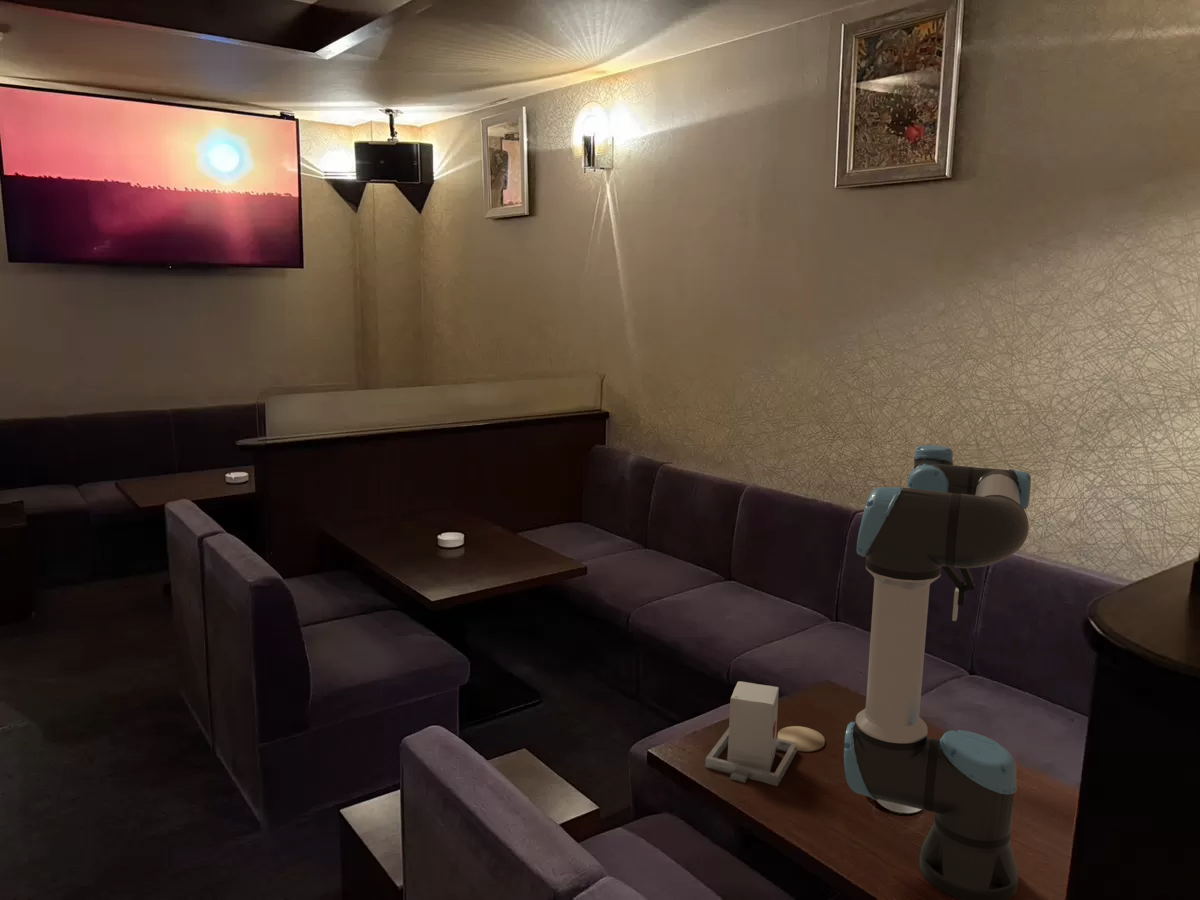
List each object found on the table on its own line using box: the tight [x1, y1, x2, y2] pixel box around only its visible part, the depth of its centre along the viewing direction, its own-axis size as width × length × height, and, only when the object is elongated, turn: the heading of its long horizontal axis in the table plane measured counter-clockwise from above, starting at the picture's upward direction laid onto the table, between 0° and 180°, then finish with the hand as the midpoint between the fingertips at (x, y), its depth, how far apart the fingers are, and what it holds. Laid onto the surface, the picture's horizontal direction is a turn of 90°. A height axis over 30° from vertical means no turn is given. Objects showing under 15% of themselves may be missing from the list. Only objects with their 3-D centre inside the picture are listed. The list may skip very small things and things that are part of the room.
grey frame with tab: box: [704, 727, 798, 787], centre depth 182 cm, size 19×15×2 cm
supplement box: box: [726, 681, 780, 772], centre depth 181 cm, size 9×9×15 cm
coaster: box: [776, 725, 826, 753], centre depth 190 cm, size 10×10×1 cm
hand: (921, 613), depth 190 cm, fingers open, 13 cm apart
